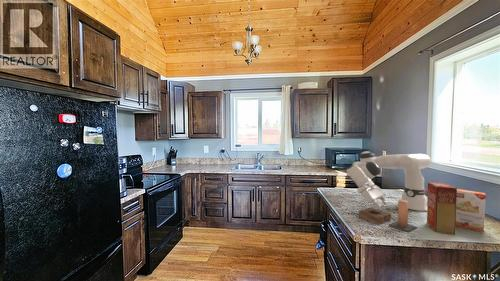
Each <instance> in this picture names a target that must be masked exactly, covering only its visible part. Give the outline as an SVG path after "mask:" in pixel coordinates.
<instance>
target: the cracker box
mask: <svg viewBox="0 0 500 281" xmlns="http://www.w3.org/2000/svg"><path fill="white" fill-rule="evenodd" d="M486 195H487V194H486V192H481V191H473V190H466V189H460V188H457V198H456V227H461V228H464V229H468V228H469V230H473V229H474V230H473V231H477V230H478V231H477V232H481V231H482V232H481V233H485V232H484V231H485V217H486V216H485V215H486V201H487V200H486V198H487V196H486Z"/></svg>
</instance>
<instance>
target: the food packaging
mask: <svg viewBox="0 0 500 281" xmlns="http://www.w3.org/2000/svg"><path fill="white" fill-rule="evenodd" d="M457 189H458V188H456V187H454V186H452V185H450V184H448V183H445V182H433V181H428V182H427V211H426V224H427V225H428V226H429V228H430V229H432V230H433V231H434V232H435V233H439V234H440V233H441V234H448V235H453V236H454V235H455V236H456V228H457V226H456V198H457Z"/></svg>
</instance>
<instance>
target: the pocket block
mask: <svg viewBox="0 0 500 281" xmlns="http://www.w3.org/2000/svg"><path fill="white" fill-rule="evenodd" d="M358 218H359V219H362V220H365V221H367V222H371V223H372V224H376V225H383V224H385V223H387V222H390V221H392V213H390V212H386V211H383V210H379V209H376V208H372V207H367V208H364V209H361V210H359V211H358Z"/></svg>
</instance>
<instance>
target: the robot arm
mask: <svg viewBox="0 0 500 281" xmlns="http://www.w3.org/2000/svg"><path fill="white" fill-rule="evenodd" d="M359 160H360V161H354V162H353V163H352V164H351V165H350V166H349V167H347V169H346V173H347V174H348V175H349V178H350V180H351V181H352V182H353V183H354V184H355V185H356V186H357V192H358V194H360V196H361V197H362V198H363V199H364V200H365V201H366V203H372V204H373V205H375V206H376V207H377V208H378V209H379V208H381V207H382V204H383V205H384V206H385V205H386V204H388V202H387V200H386V197H385V196H386V193H385V192H384V190H382V188H380V186H378V185H376V184H375V183H374V182H373V181H372V179H373V178H376V177H377V176H378V175H380V174H381V169H388V170H389V169H390V170H403V173H404V187H403V193H402V194H401V198H400V200H405V201H408V210H413V211H419V212H421V211H423V212H427V198H428V196H427V195H426V191H427V189H426V188H425V177H424V176H423V174H422V172H421V169H422V170H423V169H426V168H428V167H429V166H431V164H432V159H431V157H430V156H429V155H427V154H424V153H405V154H404V153H403V154H400V153H399V154H384V155H383V154H382V155H379V156H377V154H375V153H373V151H368V150H367V151H362V152H360V153H359ZM378 199H379V200H380V201H381V202H382V204H381V203H379V202H378V201H377V200H378Z"/></svg>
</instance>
